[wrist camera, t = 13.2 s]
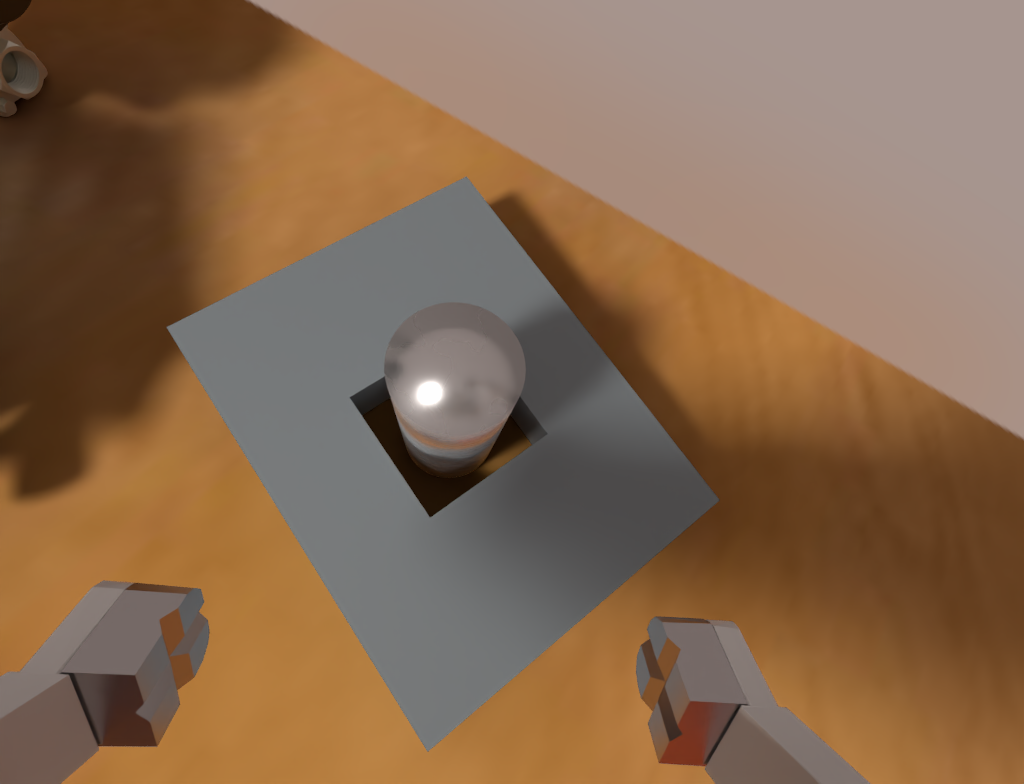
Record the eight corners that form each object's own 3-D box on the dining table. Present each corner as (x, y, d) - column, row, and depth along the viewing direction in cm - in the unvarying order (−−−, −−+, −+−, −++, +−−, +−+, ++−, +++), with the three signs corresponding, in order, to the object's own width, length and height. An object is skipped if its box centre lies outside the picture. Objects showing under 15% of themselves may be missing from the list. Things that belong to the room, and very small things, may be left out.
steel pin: (510, 444, 23) (553, 385, 15) (437, 496, 22) (436, 463, 14) (460, 375, 24) (473, 279, 15) (386, 422, 23) (356, 346, 14)
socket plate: (685, 505, 24) (719, 500, 21) (429, 722, 20) (427, 751, 17) (463, 216, 26) (466, 176, 24) (200, 355, 22) (166, 327, 20)
